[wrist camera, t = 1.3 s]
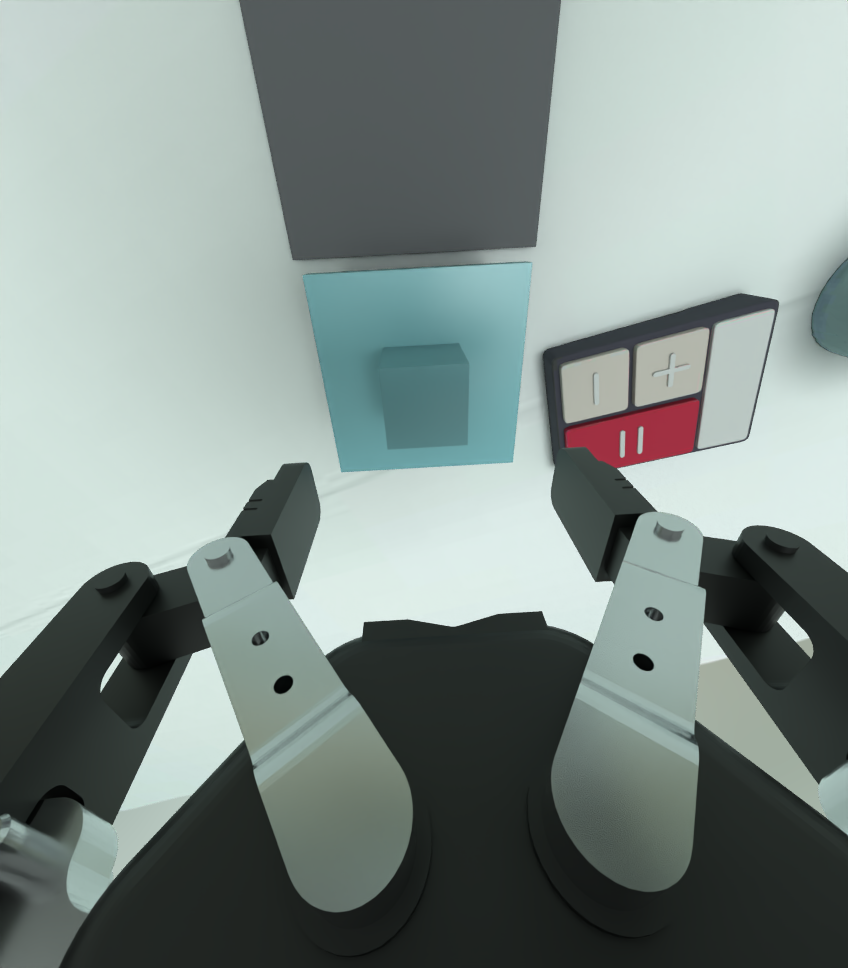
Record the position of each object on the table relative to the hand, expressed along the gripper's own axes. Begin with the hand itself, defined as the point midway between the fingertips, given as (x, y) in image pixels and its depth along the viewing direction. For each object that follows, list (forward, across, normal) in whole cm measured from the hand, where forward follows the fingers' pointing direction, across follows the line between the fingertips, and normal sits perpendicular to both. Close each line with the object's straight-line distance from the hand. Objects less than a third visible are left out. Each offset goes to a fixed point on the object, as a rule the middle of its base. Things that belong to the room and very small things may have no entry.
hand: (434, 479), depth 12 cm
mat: (+19, 0, -14) cm, 24 cm away
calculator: (+20, -18, +4) cm, 27 cm away
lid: (+13, 0, 0) cm, 13 cm away
